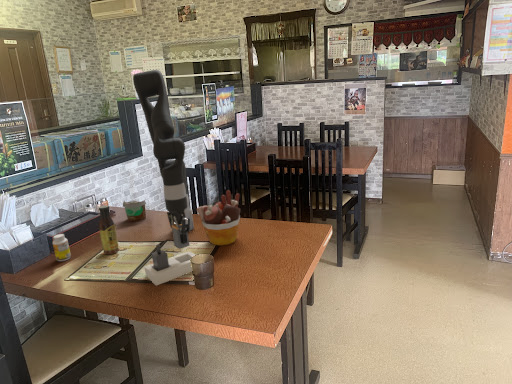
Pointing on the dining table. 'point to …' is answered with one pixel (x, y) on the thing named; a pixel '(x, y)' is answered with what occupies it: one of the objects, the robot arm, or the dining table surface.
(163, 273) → the white rectangular frame
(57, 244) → the supplement bottle
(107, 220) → the sauce bottle
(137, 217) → the food container
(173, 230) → the plug
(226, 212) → the bucket of meat
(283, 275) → the dining table surface
